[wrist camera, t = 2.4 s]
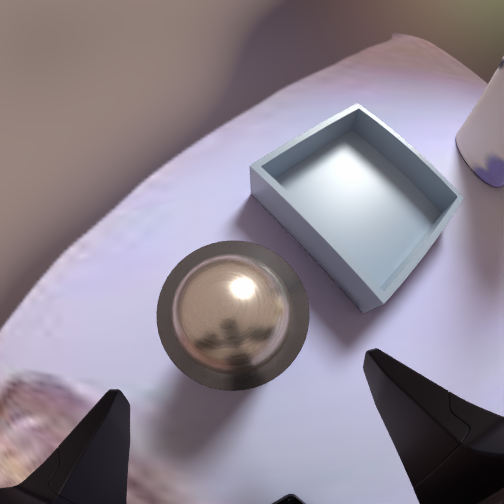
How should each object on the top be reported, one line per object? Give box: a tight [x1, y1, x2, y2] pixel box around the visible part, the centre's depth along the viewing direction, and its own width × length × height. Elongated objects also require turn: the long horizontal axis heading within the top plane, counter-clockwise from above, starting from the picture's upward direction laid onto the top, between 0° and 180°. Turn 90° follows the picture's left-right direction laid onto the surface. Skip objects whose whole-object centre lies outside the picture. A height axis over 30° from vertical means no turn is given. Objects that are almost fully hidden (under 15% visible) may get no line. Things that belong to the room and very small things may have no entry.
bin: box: [250, 103, 464, 314], centre depth 22 cm, size 14×14×4 cm
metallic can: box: [157, 241, 309, 391], centre depth 14 cm, size 6×6×12 cm
